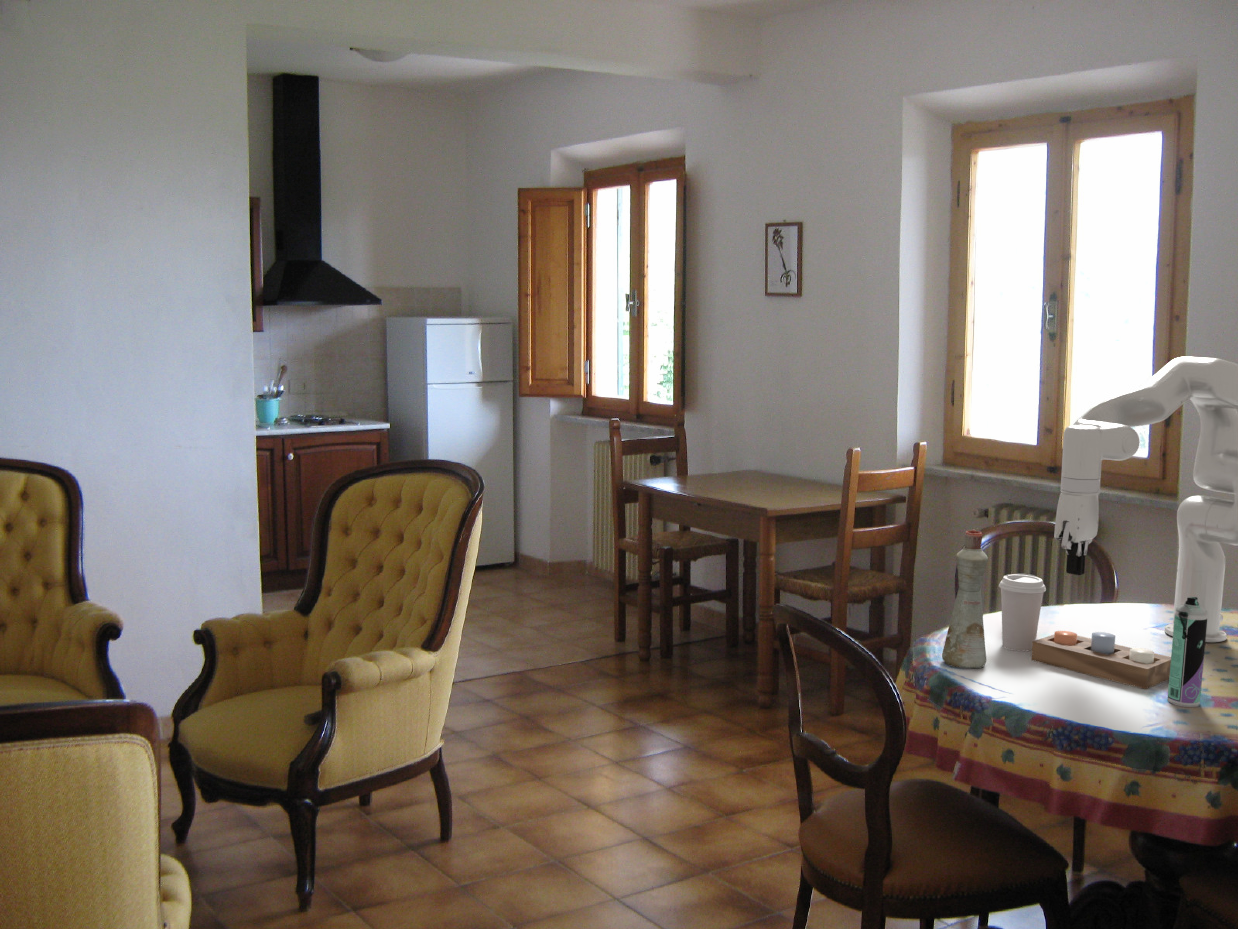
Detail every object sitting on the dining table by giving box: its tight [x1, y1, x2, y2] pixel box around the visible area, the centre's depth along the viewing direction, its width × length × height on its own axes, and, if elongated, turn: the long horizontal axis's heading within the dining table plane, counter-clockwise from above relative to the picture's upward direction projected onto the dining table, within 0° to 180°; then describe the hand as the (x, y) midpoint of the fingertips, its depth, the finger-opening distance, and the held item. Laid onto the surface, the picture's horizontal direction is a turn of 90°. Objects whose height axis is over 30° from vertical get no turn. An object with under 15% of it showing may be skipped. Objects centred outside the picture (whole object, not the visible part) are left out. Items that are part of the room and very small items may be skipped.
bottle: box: [941, 529, 989, 669], centre depth 244 cm, size 9×9×28 cm
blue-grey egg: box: [1091, 631, 1116, 655], centre depth 245 cm, size 4×4×5 cm
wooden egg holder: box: [1030, 634, 1171, 690], centre depth 245 cm, size 12×24×4 cm, turn 42°
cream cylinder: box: [1129, 647, 1155, 664], centre depth 239 cm, size 4×4×5 cm
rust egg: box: [1053, 630, 1078, 646], centre depth 251 cm, size 4×4×5 cm
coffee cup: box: [998, 573, 1047, 652], centre depth 259 cm, size 10×10×15 cm
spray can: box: [1167, 597, 1208, 708], centre depth 224 cm, size 6×6×20 cm
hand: (1075, 573), depth 250 cm, fingers closed
